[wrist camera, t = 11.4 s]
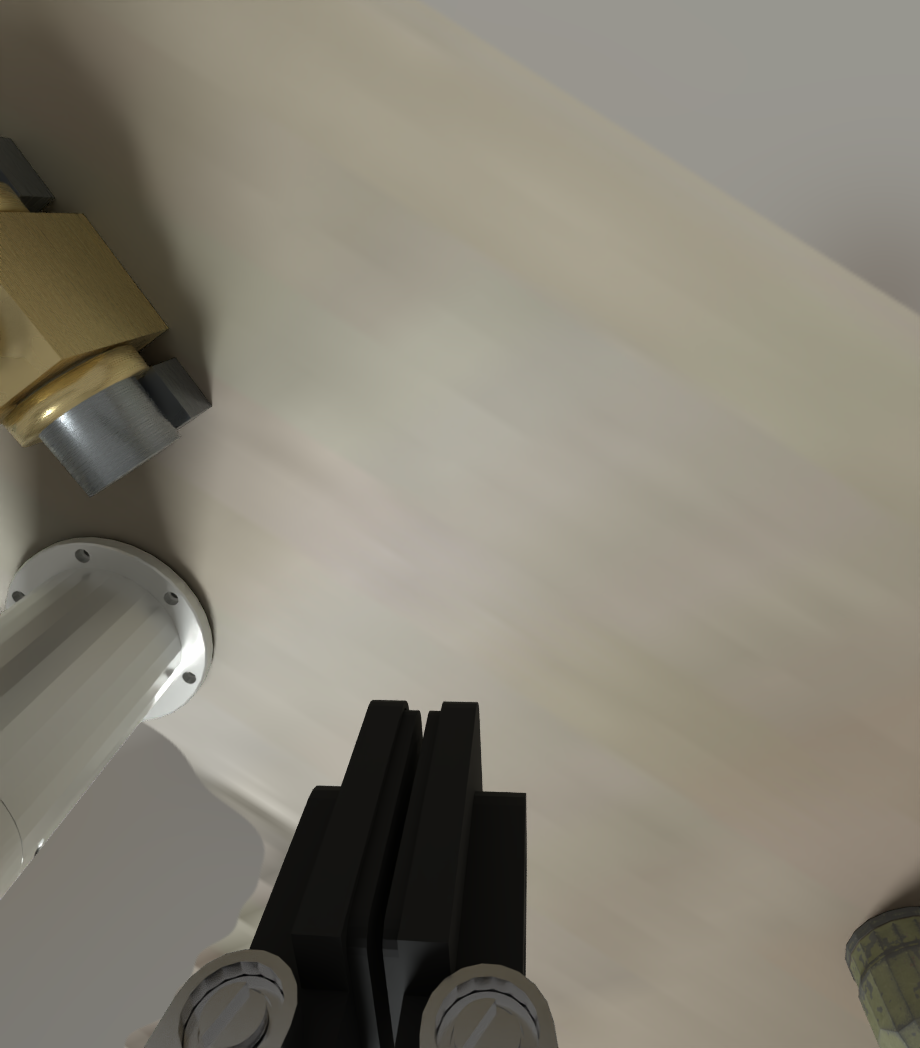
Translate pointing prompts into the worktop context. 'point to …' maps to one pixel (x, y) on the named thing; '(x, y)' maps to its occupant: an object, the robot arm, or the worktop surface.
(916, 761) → the worktop surface
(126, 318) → the ball valve
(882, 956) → the green piece
